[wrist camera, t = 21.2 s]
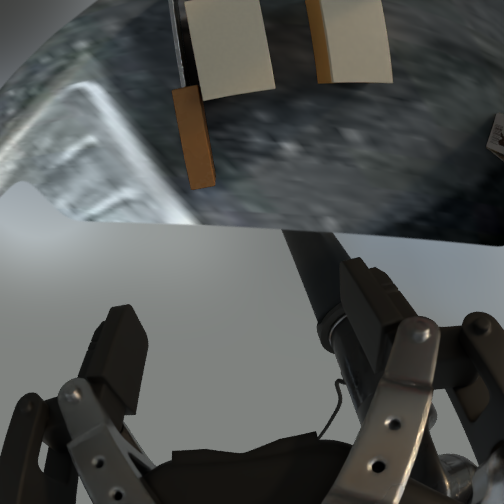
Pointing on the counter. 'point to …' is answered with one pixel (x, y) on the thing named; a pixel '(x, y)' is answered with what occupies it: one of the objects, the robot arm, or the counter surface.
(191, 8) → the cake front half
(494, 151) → the coffee box
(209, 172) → the knife
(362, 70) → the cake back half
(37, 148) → the counter surface
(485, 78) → the counter surface
